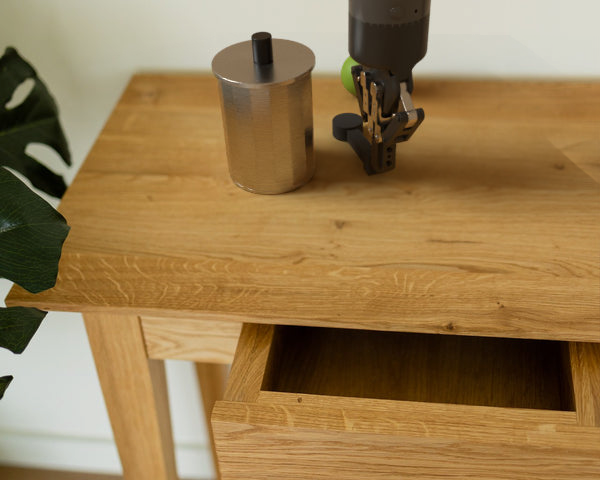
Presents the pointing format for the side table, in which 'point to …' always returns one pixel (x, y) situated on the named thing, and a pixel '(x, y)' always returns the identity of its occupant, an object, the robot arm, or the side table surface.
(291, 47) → the pot lid
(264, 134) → the pot
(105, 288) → the side table surface
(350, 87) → the snail figurine
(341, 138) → the black disc-ended bar
